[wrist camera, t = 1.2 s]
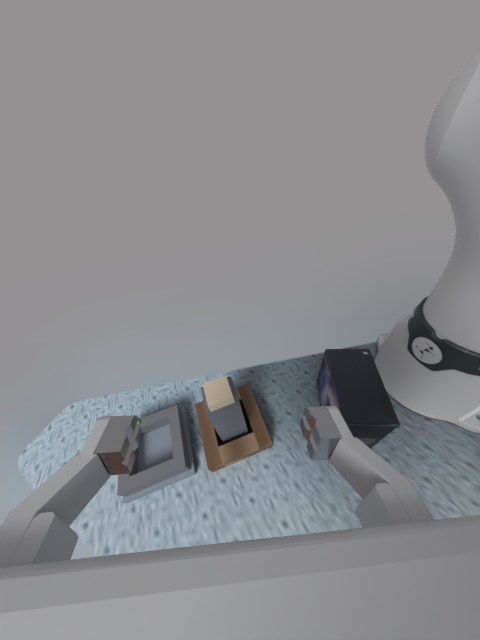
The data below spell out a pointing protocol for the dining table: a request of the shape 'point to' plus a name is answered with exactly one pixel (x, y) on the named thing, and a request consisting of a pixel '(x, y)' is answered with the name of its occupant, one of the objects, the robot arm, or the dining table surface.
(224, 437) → the plug
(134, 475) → the dock
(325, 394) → the small box
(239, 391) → the frame
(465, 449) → the dining table surface
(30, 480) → the dining table surface
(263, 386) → the dining table surface
